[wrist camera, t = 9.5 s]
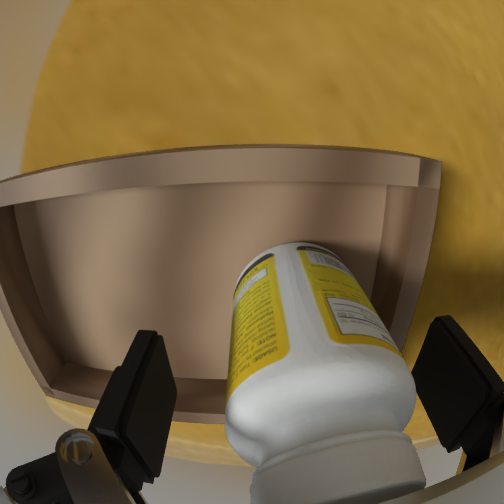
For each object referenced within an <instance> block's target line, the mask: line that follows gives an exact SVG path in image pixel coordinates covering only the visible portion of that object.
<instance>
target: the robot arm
mask: <svg viewBox="0 0 504 504" xmlns="http://www.w3.org/2000/svg"><path fill="white" fill-rule="evenodd" d="M411 374H412V377H413V379H414V382H415V386H416V392H417V394H418V396H419V398H420V400H421V402H422V404H423V406H424V408H425V410H426V413H427V415H428V417H429V419H430V421H431V423H432V425H433V427H434V429H435V432H436V434H437V436H438V438H439V440H440V443H441V445H442V446H443V447H445V448H446V450H447V452H448V453H450V452H452V451H455V450H457V449H459V448H460V447H461V446H462V449H463V452H462V456H461V459H460V463H459V466H458V469H457V472H456V475H455V476H453V477H451V478H449V479H447V480H444V481H442V482H440V483H437V484H435V485H432V486H430V487H427V488H425V489H422V490H419V491H416V492H414V493H411V494H408V495H405V496H402V497H399V498H395V499H392V500H389V501H385V502H382V503H378V504H504V393H503V392H504V382H503V381H502V379H501V378H500V377H499V375H498V374H497V372H496V371H495V370H494V368H493V367H492V366H491V364H490V363H489V362H488V360H487V359H486V358H485V357H484V355H483V354H482V353H481V351H480V350H479V349H478V348H477V346H476V345H475V344H474V343H473V341H472V340H471V339H470V338H469V337H468V335H467V334H466V333H465V332H464V331H463V329H462V328H461V327H460V326H459V325H458V323H457V322H456V321H455V320H454V319H453V318H452V317H451V316H450V315H446V316H439V317H436V318H435V319H434V321H433V322H432V323H431V324H430V327H429V329H428V332H427V335H426V338H425V340H424V343H423V345H422V348H421V350H420V353H419V355H418V358H417V360H416V363H415V365H414V367H413V370H412V372H411ZM176 399H177V387H176V384H175V380H174V377H173V373H172V370H171V366H170V363H169V359H168V355H167V351H166V347H165V343H164V339H163V336H162V335H158V333H157V331H155V330H138V332H137V334H136V336H135V338H134V340H133V342H132V344H131V346H130V348H129V350H128V352H127V354H126V356H125V359H124V361H123V363H122V365H121V366H117V367H116V368H115V370H114V371H113V373H112V375H111V377H110V380H109V382H108V384H107V386H106V388H105V390H104V393H103V395H102V397H101V399H100V401H99V404H98V406H97V408H96V411H95V413H94V415H93V417H92V420H91V422H90V424H89V427H88V429H87V430H85V429H79V428H75V429H71V430H68V431H67V432H64V434H62V435H61V436H60V437H59V439H58V440H57V442H56V446H55V452H54V453H52V454H49V455H47V456H44V457H42V458H39V459H37V460H34V461H32V462H29V463H26V464H24V465H21V466H18V467H16V468H14V469H12V471H11V472H10V473H9V474H8V476H7V479H6V487H5V488H3V487H2V486H0V504H148V503H147V501H146V500H145V498H144V497H143V495H142V494H141V492H140V490H142V486H143V482H146V483H151V484H153V481H154V477H159V475H160V473H161V468H162V463H163V457H164V453H165V448H166V444H167V439H168V435H169V430H170V425H171V421H172V417H173V412H174V408H175V403H176Z"/></svg>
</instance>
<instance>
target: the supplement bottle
mask: <svg viewBox="0 0 504 504" xmlns="http://www.w3.org/2000/svg"><path fill="white" fill-rule="evenodd" d="M415 403H416V386H415V382H414V379H413V377H412V374H411V372H410V370H409V368H408V366H407V364H406V362H405V360H404V358H403V357H402V355H401V353H400V351H399V350H398V348H397V346H396V344H395V343H394V341H393V339H392V338H391V336H390V334H389V332H388V331H387V329H386V328H385V326H384V324H383V322H382V321H381V319H380V317H379V316H378V314H377V312H376V311H375V309H374V308H373V306H372V304H371V303H370V301H369V299H368V298H367V296H366V295H365V293H364V291H363V290H362V288H361V287H360V285H359V284H358V282H357V281H356V279H355V278H354V276H353V274H352V273H351V271H350V270H349V268H348V267H347V266H346V265H345V263H344V262H343V261H342V260H341V259H340V258H339V257H338V256H337V255H336V254H334V253H333V252H331V251H329V250H328V249H326V248H324V247H321V246H319V245H315V244H311V243H304V242H295V243H287V244H282V245H278V246H275V247H273V248H270V249H268V250H266V251H264V252H263V253H261V254H259V255H258V256H257V257H255V258H254V259H253V260H252V261H251V262H250V263H249V264H248V265H247V266H246V267H245V269H244V270H243V271H242V273H241V275H240V277H239V279H238V281H237V284H236V287H235V291H234V297H233V307H232V324H231V338H230V350H229V363H228V377H227V389H226V400H225V431H226V435H227V438H228V441H229V443H230V445H231V446H232V448H233V449H234V450H235V452H236V453H237V454H238V455H239V456H240V457H241V458H242V459H243V460H245V461H246V462H248V463H249V464H251V465H253V466H255V467H257V469H256V470H255V472H254V474H253V476H252V483H251V485H250V494H251V504H378V503H382V502H385V501H389V500H392V499H395V498H399V497H402V496H405V495H408V494H411V493H414V492H416V491H419V490H422V489H424V487H425V486H426V478H425V475H424V472H423V470H422V466H421V463H420V460H419V457H418V455H417V452H416V449H415V447H414V446H413V445H412V441H411V439H410V437H409V436H408V435H406V434H405V433H402V431H403V430H404V428H405V427H406V425H407V424H408V422H409V421H410V418H411V416H412V414H413V411H414V408H415Z"/></svg>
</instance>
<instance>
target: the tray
mask: <svg viewBox="0 0 504 504" xmlns="http://www.w3.org/2000/svg"><path fill="white" fill-rule="evenodd" d="M441 168H442V161H438V160H434V159H430V158H426V157H421V156H417V155H412V154H407V153H402V152H397V151H388V150H379V149H368V148H357V147H343V146H326V145H299V144H244V145H217V146H200V147H186V148H174V149H163V150H154V151H145V152H137V153H129V154H122V155H115V156H108V157H102V158H96V159H90V160H85V161H79V162H74V163H69V164H64V165H59V166H54V167H50V168H45V169H41V170H37V171H33V172H29V173H25V174H21V175H17V176H13V177H10V178H7V179H4V180H1V181H0V309H1V312H2V314H3V316H4V319H5V321H6V323H7V325H8V328H9V330H10V332H11V334H12V336H13V338H14V340H15V342H16V344H17V346H18V348H19V350H20V352H21V354H22V356H23V358H24V359H25V361H26V363H27V365H28V366H29V368H30V370H31V372H32V374H33V375H34V377H35V379H36V380H37V382H38V383H39V385H40V387H41V388H42V390H43V391H44V393H45V394H46V396H49V397H52V398H56V399H59V400H63V401H66V402H70V403H74V404H78V405H82V406H86V407H90V408H95V409H96V408H97V406H98V404H99V401H100V399H101V397H102V395H103V393H104V390H105V388H106V386H107V384H108V382H109V380H110V377H111V375H112V373H113V371H114V370H115V368H116V367H117V366H121V365H122V363H123V361H124V359H125V356H126V354H127V352H128V350H129V348H130V346H131V344H132V342H133V340H134V338H135V336H136V334H137V332H138V330H155V331H157V333H158V335H162V336H163V339H164V343H165V347H166V351H167V355H168V359H169V363H170V366H171V370H172V373H173V377H174V380H175V384H176V387H177V399H176V403H175V408H174V412H173V417H172V421H178V422H189V423H205V424H225V400H226V389H227V377H228V363H229V350H230V338H231V324H232V307H233V297H234V291H235V287H236V284H237V281H238V279H239V277H240V275H241V273H242V271H243V270H244V269H245V267H246V266H247V265H248V264H249V263H250V262H251V261H252V260H253V259H254V258H255V257H257V256H258V255H259V254H261V253H263V252H264V251H266V250H268V249H270V248H273V247H275V246H278V245H282V244H287V243H295V242H304V243H311V244H315V245H319V246H321V247H324V248H326V249H328V250H329V251H331V252H333V253H334V254H336V255H337V256H338V257H339V258H340V259H341V260H342V261H343V262H344V263H345V265H346V266H347V267H348V268H349V270H350V271H351V273H352V274H353V276H354V278H355V279H356V281H357V282H358V284H359V285H360V287H361V288H362V290H363V291H364V293H365V295H366V296H367V298H368V299H369V301H370V303H371V304H372V306H373V308H374V309H375V311H376V312H377V314H378V316H379V317H380V319H381V321H382V322H383V324H384V326H385V328H386V329H387V331H388V332H389V334H390V336H391V338H392V339H393V341H394V343H395V344H396V346H397V348H398V350H399V351H400V353H401V351H402V348H403V345H404V342H405V340H406V337H407V334H408V331H409V328H410V325H411V321H412V318H413V315H414V312H415V308H416V305H417V301H418V298H419V294H420V290H421V286H422V283H423V279H424V274H425V270H426V266H427V261H428V257H429V252H430V247H431V242H432V237H433V231H434V225H435V219H436V212H437V205H438V198H439V189H440V180H441Z"/></svg>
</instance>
